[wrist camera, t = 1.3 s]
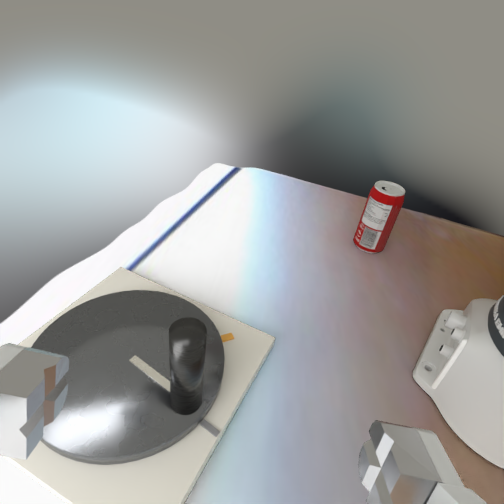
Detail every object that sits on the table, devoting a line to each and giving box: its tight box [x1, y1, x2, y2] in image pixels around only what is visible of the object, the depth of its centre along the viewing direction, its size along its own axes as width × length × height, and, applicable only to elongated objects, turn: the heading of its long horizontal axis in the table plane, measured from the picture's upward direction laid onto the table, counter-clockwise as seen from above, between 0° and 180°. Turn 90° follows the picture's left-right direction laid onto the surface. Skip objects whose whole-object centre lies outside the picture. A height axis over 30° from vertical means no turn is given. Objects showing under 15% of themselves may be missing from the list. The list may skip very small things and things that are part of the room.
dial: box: [31, 290, 225, 465], centre depth 36 cm, size 20×20×12 cm
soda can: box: [353, 181, 405, 253], centre depth 63 cm, size 6×6×12 cm
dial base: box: [2, 267, 275, 504], centre depth 40 cm, size 24×24×2 cm
